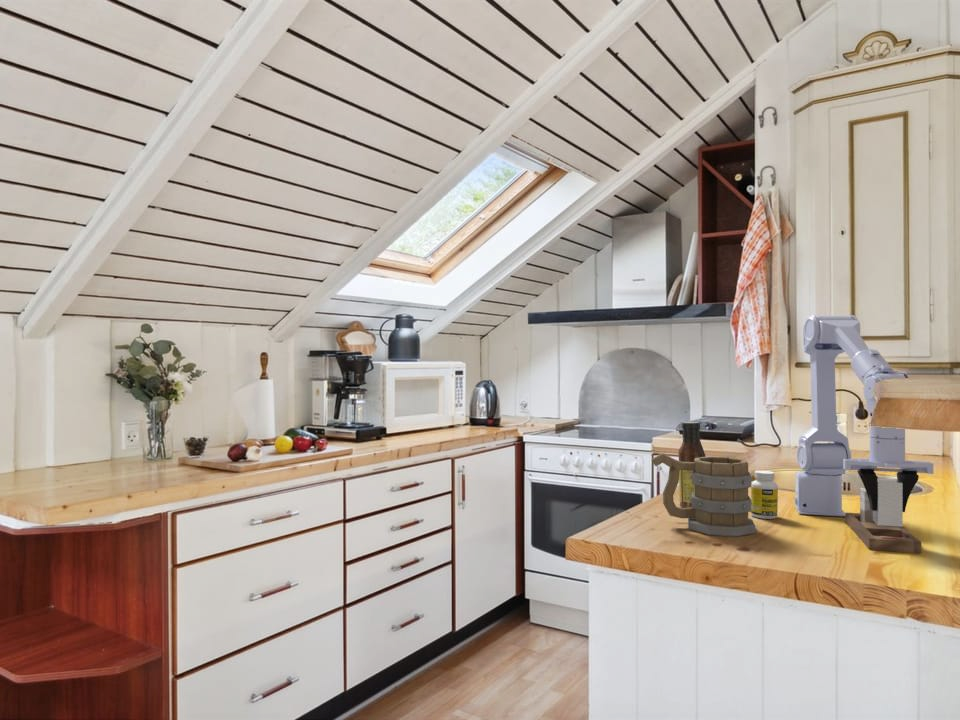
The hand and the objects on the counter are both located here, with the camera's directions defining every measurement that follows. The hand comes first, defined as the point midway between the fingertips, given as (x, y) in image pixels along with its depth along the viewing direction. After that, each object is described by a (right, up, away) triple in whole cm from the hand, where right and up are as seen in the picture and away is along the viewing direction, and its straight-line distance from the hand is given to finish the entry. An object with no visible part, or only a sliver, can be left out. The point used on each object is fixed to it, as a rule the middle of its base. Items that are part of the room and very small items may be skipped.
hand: (887, 510), depth 131 cm
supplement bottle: (-14, -6, +22) cm, 27 cm away
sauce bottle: (-27, -6, +31) cm, 41 cm away
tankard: (-31, -7, +13) cm, 34 cm away
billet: (0, -2, 0) cm, 2 cm away
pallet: (+2, -6, +5) cm, 8 cm away
